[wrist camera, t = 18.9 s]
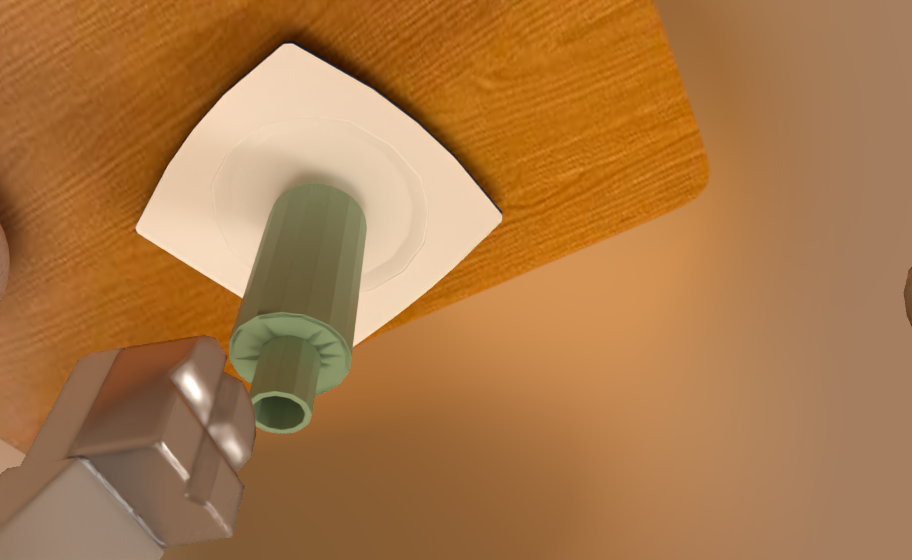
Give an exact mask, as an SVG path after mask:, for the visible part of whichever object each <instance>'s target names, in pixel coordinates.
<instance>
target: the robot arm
mask: <svg viewBox="0 0 912 560" xmlns="http://www.w3.org/2000/svg"><path fill="white" fill-rule="evenodd" d="M904 298H905V306H906V312H907V317H908V319H909V321H910V324H911V326H912V267H911V268H910V270H909V271H908V276H907V280H906V285H905V289H904ZM226 360H227V355H226V354H225V352H224V351H223V349H222V348H221V346H220V345H219V343H218V342H217V340H216V338H214V337H210V336H206V335H201V336H195V337H188V338H182V339H175V340H168V341H162V342H155V343H148V344H142V345H135V346H129V347H127V348H120V349H114V350H107V351H101V352H94V353H89V354H88V355H86V356H85V357H83V358H81V359H80V360H78V361H77V363H76V365H75V367H74V369H73V371H72V372H71V374H70V376H69V378H68V380H67V382H66V383H65V385H64V387H63V389H62V391H61V393H60V394H59V396H58V398H57V400H56V402H55V403H54V405H53V407H52V409H51V411H50V413H49V414H48V416H47V418H46V420H45V422H44V424H43V425H42V427H41V429H40V431H39V433H38V435H37V436H36V438H35V440H34V442H33V444H32V446H31V447H30V449H29V451H28V453H27V455H26V457H25V459H24V460H23V462H22V464H21V466H19V467H13V468H7V469H6V470H5V471H4V472H2V474H0V560H159V559H160V558H161V557H162V555H163V554H164V550H163V549H164V548H170V547H176V546H181V545H187V544H193V543H199V542H204V541H210V540H216V539H222V538H227V537H232V536H233V532H234V528H235V524H236V519H237V515H238V511H239V507H240V503H241V499H242V494H243V490H244V485H243V483H242V482H241V480H240V479H239V477H238V475H237V474H236V472H237V471H238V470H239V469H240V467H241V466H242V465H243V464H244V463H245V462H246V461H247V460H248V458H250V456H251V455H252V452H253V447H254V443H255V438H256V420H255V410H254V406H253V403H252V400H251V397H250V394H249V392H248V391H247V389H246V387H245V385H244V384H243V382H242V381H241V380H239V379H237V378H235V377H233V376H231V375H229V374H228V373H226V372H224V371H223V370H224V367H225V363H226Z"/></svg>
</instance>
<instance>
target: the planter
mask: <svg viewBox="0 0 912 560" xmlns="http://www.w3.org/2000/svg"><path fill="white" fill-rule="evenodd" d="M9 271H10V254H9V247H8V243H7V239H6V236H5V233H4V231H3V228H2V226H1V224H0V301H1V298H2V296H3V294H4V292H5V289H6V285H7V282H8V278H9Z"/></svg>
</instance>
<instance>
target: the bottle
mask: <svg viewBox="0 0 912 560" xmlns="http://www.w3.org/2000/svg"><path fill="white" fill-rule="evenodd" d="M366 232H367V224H366V218H365V215H364V213H363V211H362V209H361V207H360V206H359V205H358V203H357V202H356V201H355V200H354V199H353V198H352V197H351V196H349V195H348V194H347V193H345V192H343V191H342V190H340V189H337V188H335V187H332V186H329V185H324V184H303V185H299V186H296V187H293V188H291V189H289V190H287V191H286V192H284V193H283V194H282V195H281V196H280V197H279V198H278V199H277V200H276V202H275V203H274V205H273V207H272V210H271V212H270V214H269V217H268V220H267V223H266V226H265V229H264V232H263V236H262V239H261V242H260V245H259V248H258V251H257V255H256V258H255V261H254V264H253V267H252V270H251V274H250V277H249V280H248V283H247V286H246V289H245V293H244V296H243V299H242V302H241V305H240V308H239V312H238V315H237V318H236V321H235V324H234V327H233V330H232V334H231V337H230V340H229V359H230V361H231V362H232V364H233V366H234V367H235V369H236V371H237V373H238V374H239V375H240V376H241V377H243V378H244V379H245V380H247V381H248V382H249V383H250V384H252V385H251V389H250V393H249V394H250V397H251V400H252V403H253V406H254V410H255V420H256V426H257V427H259V428H261V429H262V430H264V431H267V432H274V433H279V434H285V433H291V432H297V431H299V430H301V429H302V428H304V427H305V426H307V425H308V424H309V421H310V418H311V415H312V410H313V404H314V398H315V395H318V394H322V393H324V392H326V391H328V390H330V389H332V388H334V387H336V386H338V385H339V384H340V383H341V381H342V380H343V379H344V378H345V376H346V375H347V374H348V373H349V371H350V363H351V356H352V349H353V340H354V332H355V324H356V315H357V307H358V299H359V290H360V282H361V273H362V265H363V257H364V248H365V240H366Z"/></svg>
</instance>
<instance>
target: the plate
mask: <svg viewBox="0 0 912 560" xmlns="http://www.w3.org/2000/svg"><path fill="white" fill-rule="evenodd" d="M303 184H324V185H329V186H332V187H335V188H337V189H340V190H342V191H343V192H345V193H347V194H348V195H349V196H351V197H352V198H353V199H354V200H355V201H356V202H357V203H358V205H359V206H360V207H361V209H362V211H363V213H364V215H365V218H366V224H367V232H366V240H365V248H364V257H363V265H362V273H361V282H360V290H359V299H358V307H357V315H356V324H355V332H354V340H353V347H354V346H355V345H357V344H358V343H359V342H361V341H362V340H364V339H365V338H366V337H368V336H369V335H370V334H372V333H373V332H375V331H376V330H377V329H379V328H380V327H381V326H383V325H384V324H386V323H387V322H388V321H390V320H391V319H392V318H394V317H395V316H397V315H398V314H399V313H400V312H402V311H403V310H404V309H405V308H407V307H408V306H409V305H410V304H412V303H413V302H414V301H415V300H417V299H418V298H419V297H420V296H422V295H423V294H424V293H425V292H427V291H428V290H429V289H430V288H431V287H432V286H434V285H435V284H436V283H437V282H438V281H439V280H440V279H442V278H443V277H444V276H445V275H446V274H447V273H448V272H450V271H451V270H452V269H453V268H454V267H455V266H456V265H457V264H458V263H459V262H460V261H462V260H463V259H464V258H465V257H466V256H467V255H468V254H469V253H470V252H471V251H472V250H473V249H474V248H475V247H476V246H477V245H478V244H479V243H480V242H481V241H482V240H483V239H484V238H485V237H486V236H487V235H488V234H489V233H490V232H491V231H492V230H493V229H494V228H495V227H496V226H497V225H499V224H500V223H501V222H502V211H501V210H500V209H499V207H498V206H497V205H496V204H495V203H494V202H493V200H492V199H491V198H490V197H489V196H488V194H487V193H486V192H485V191H484V190H483V188H482V187H481V186H480V185H479V184H478V182H477V181H476V180H475V179H474V178H473V177H472V175H471V174H470V173H469V172H468V171H467V169H466V168H465V167H464V166H463V165H462V163H461V162H460V161H459V160H458V159H457V157H456V156H455V155H454V154H453V153H452V152H451V151H450V150H449V149H448V148H446V147H445V146H444V145H443V144H442V143H441V142H440V141H439V140H438V139H437V138H436V137H435V136H434V135H433V134H431V133H430V132H429V131H428V130H427V129H426V128H425V127H424V126H423V125H422V124H421V123H420V122H419V121H418V120H416V119H415V118H414V117H412V116H411V115H410V114H408V113H407V112H406V111H404V110H403V109H402V108H401V107H399V106H398V105H397V104H395V103H394V102H393V101H391V100H390V99H389V98H387V97H386V96H385V95H383V94H382V93H381V92H379V91H378V90H377V89H375V88H374V87H372V86H371V85H369V84H367V83H366V82H364V81H362V80H360V79H359V78H357V77H355V76H354V75H352V74H350V73H348V72H347V71H345V70H343V69H341V68H340V67H338V66H336V65H335V64H333V63H331V62H329V61H328V60H326V59H324V58H323V57H321V56H319V55H317V54H316V53H314V52H312V51H311V50H309V49H307V48H305V47H304V46H302V45H300V44H298V43H297V42H295V41H284V42H283V43H282V44H281V45H279V46H278V47H277V48H276V49H275V50H274V51H272V52H271V53H270V54H269V55H268V56H267V57H265V58H264V59H263V60H262V61H261V62H260V63H258V64H257V65H256V66H255V67H254V68H253V69H251V70H250V71H249V72H248V73H247V74H246V75H244V76H243V77H242V78H241V79H240V80H239V81H237V82H236V83H235V84H234V85H233V86H232V87H230V88H229V89H228V90H227V91H226V92H225V93H224V94H223V95H222V96H221V97H220V98H219V100H218V101H217V102H216V103H215V104H214V105H213V106H212V108H211V109H210V110H209V111H208V112H207V113H206V114H205V116H204V117H203V118H202V119H201V120H200V121H199V122H198V124H197V125H196V126H195V127H194V128H193V130H192V131H191V133H190V134H189V135H188V137H187V138H186V140H185V141H184V143H183V144H182V145H181V147H180V148H179V150H178V151H177V152H176V154H175V155H174V157H173V158H172V159H171V161H170V162H169V164H168V166H167V168H166V170H165V172H164V174H163V175H162V177H161V179H160V181H159V183H158V185H157V187H156V189H155V191H154V192H153V194H152V196H151V198H150V200H149V202H148V204H147V206H146V208H145V209H144V211H143V213H142V215H141V217H140V219H139V221H138V223H137V225H136V230H137V232H138V234H140V235H141V236H143V237H145V238H146V239H148V240H149V241H151V242H153V243H154V244H156V245H157V246H159V247H161V248H162V249H164V250H165V251H167V252H169V253H170V254H172V255H173V256H175V257H177V258H178V259H180V260H181V261H183V262H185V263H186V264H188V265H189V266H191V267H193V268H194V269H196V270H197V271H199V272H201V273H202V274H204V275H206V276H207V277H209V278H210V279H212V280H214V281H215V282H217V283H219V284H220V285H222V286H223V287H225V288H227V289H228V290H230V291H232V292H233V293H235V294H236V295H238V296H240V297H241V298H243V296H244V293H245V289H246V286H247V283H248V280H249V277H250V274H251V270H252V267H253V264H254V261H255V258H256V255H257V251H258V248H259V245H260V242H261V239H262V236H263V232H264V229H265V226H266V223H267V220H268V217H269V214H270V212H271V210H272V207H273V205H274V203H275V202H276V200H277V199H278V198H279V197H280V196H281V195H282V194H283V193H284V192H286V191H287V190H289V189H291V188H293V187H296V186H299V185H303Z"/></svg>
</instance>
